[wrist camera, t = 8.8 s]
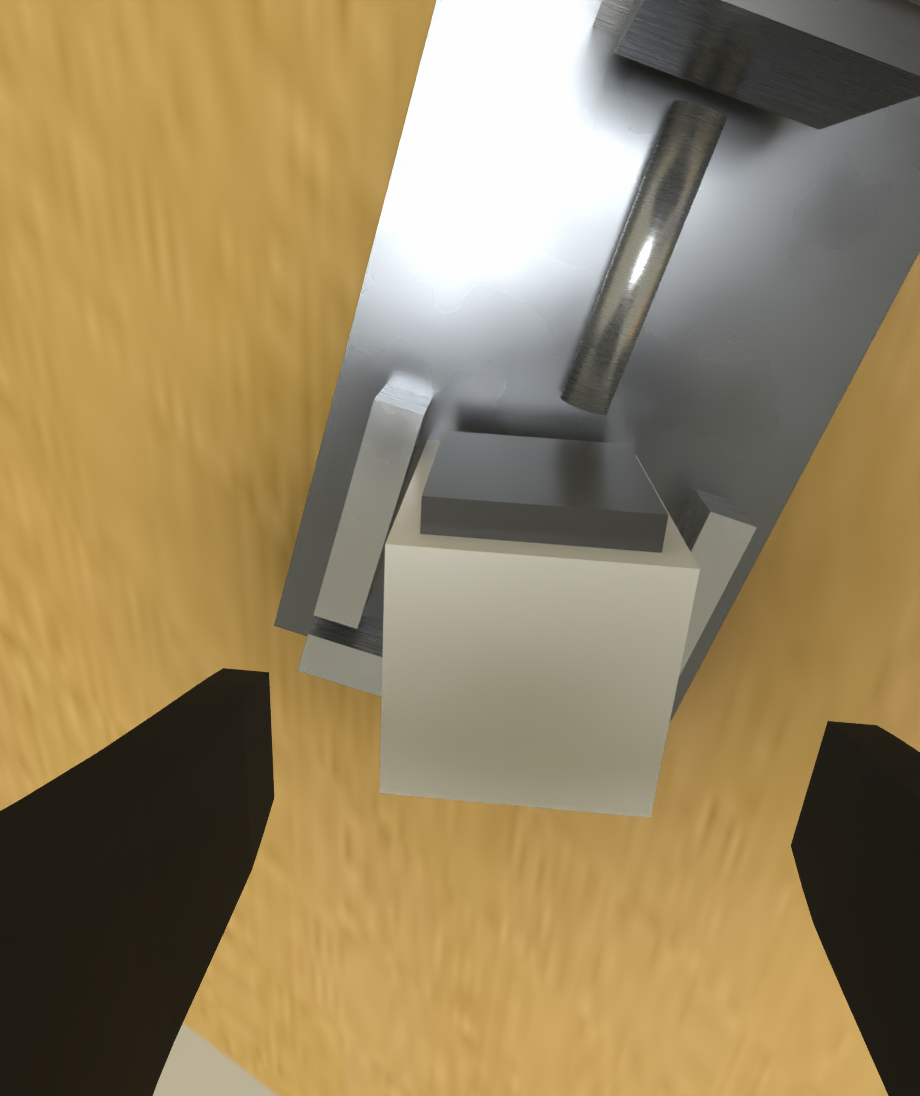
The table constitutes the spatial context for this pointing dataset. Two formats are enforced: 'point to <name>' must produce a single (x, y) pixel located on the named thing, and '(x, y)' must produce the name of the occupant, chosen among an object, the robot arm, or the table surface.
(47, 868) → the robot arm
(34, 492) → the table surface
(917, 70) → the grey metal base
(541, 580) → the white cube grey lid
